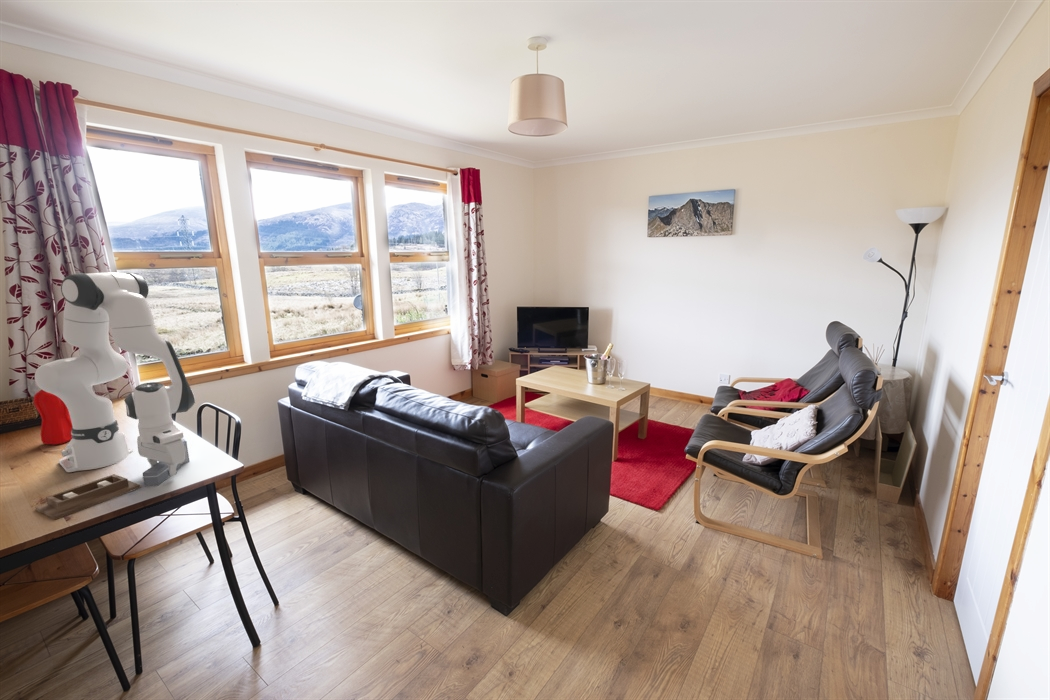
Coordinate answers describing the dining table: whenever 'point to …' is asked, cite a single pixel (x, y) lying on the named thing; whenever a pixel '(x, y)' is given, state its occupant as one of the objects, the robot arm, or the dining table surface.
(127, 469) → the dining table surface
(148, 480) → the gray rectangular box
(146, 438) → the robot arm
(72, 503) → the brown wooden tray
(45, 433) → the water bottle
